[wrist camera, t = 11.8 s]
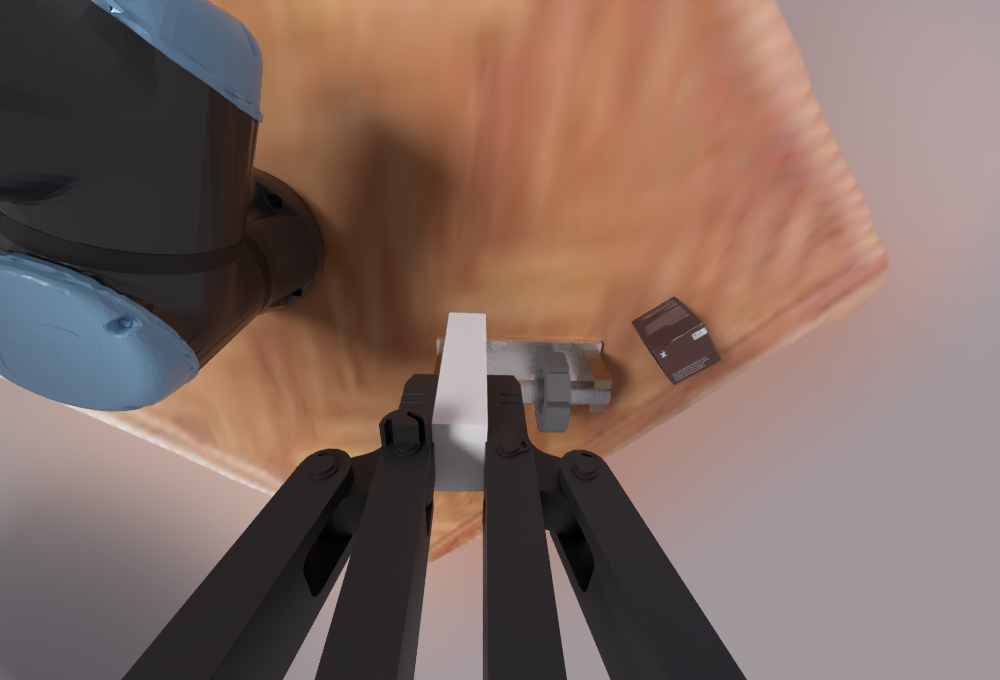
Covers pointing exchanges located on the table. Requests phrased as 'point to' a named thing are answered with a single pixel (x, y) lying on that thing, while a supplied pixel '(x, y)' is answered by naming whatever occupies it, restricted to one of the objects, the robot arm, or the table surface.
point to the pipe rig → (521, 362)
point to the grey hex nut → (553, 392)
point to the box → (676, 340)
